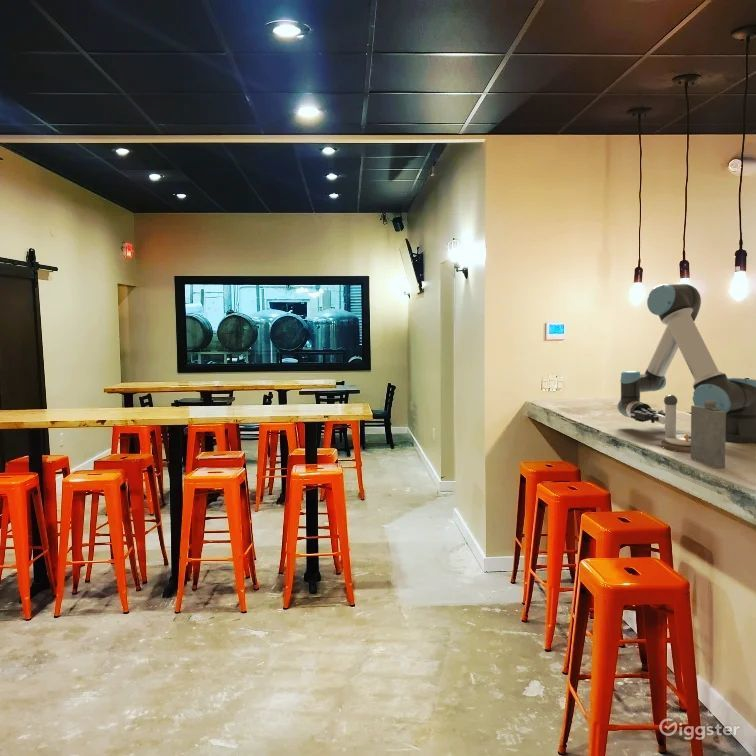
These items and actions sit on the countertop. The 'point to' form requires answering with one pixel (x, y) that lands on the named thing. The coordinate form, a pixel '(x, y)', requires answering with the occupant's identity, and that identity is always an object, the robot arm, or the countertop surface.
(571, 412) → the countertop surface
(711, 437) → the hip flask
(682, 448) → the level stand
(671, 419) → the light grey l-shaped piece
